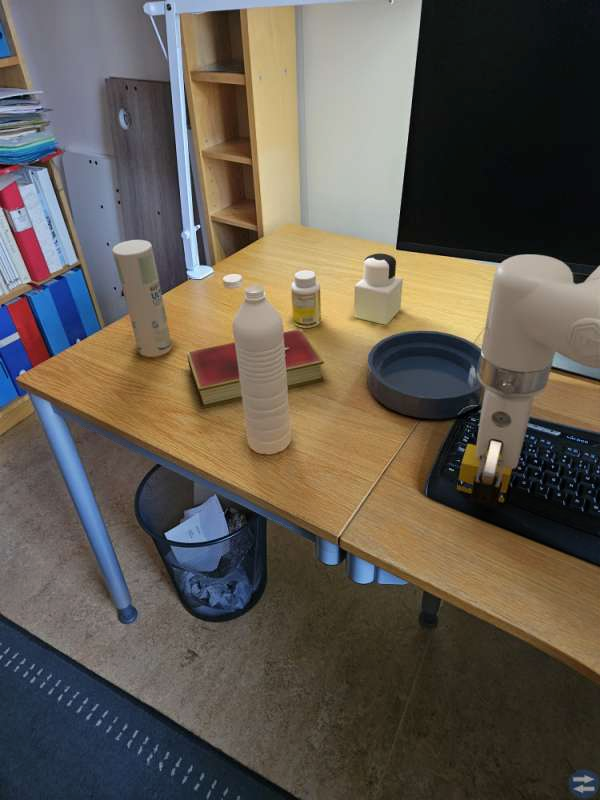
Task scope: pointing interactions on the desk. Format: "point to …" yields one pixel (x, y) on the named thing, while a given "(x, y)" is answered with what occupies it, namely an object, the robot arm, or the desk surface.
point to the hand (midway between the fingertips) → (490, 476)
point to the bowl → (425, 374)
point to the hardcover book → (221, 374)
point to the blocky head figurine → (378, 290)
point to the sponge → (471, 469)
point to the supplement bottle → (306, 299)
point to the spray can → (143, 296)
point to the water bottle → (261, 369)
